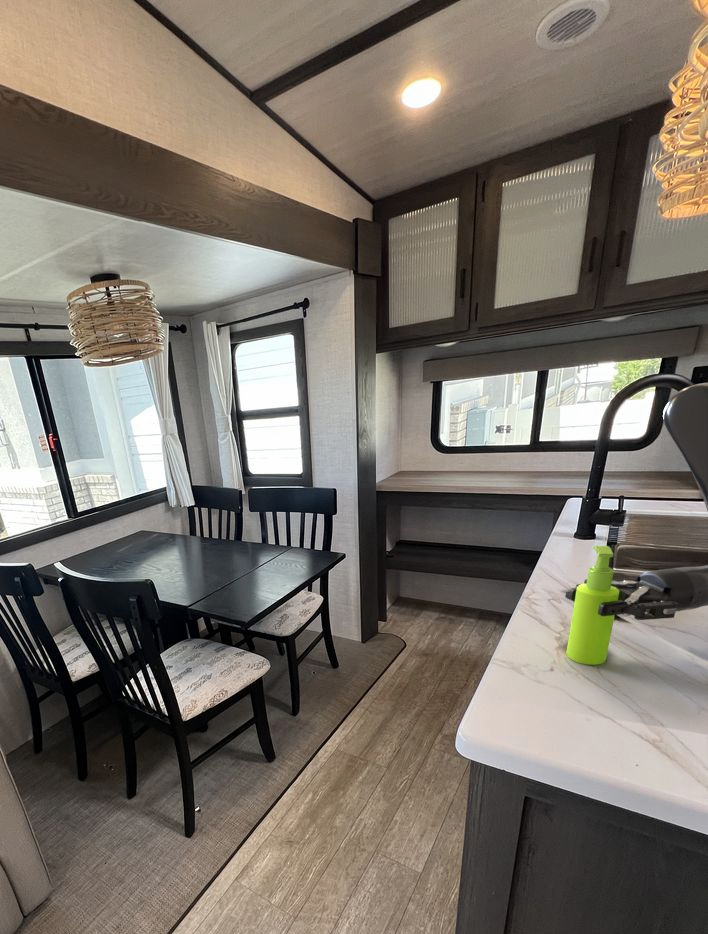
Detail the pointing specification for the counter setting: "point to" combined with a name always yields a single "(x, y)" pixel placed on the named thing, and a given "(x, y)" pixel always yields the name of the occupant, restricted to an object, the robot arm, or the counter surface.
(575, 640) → the soap dispenser
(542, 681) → the counter surface
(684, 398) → the robot arm
